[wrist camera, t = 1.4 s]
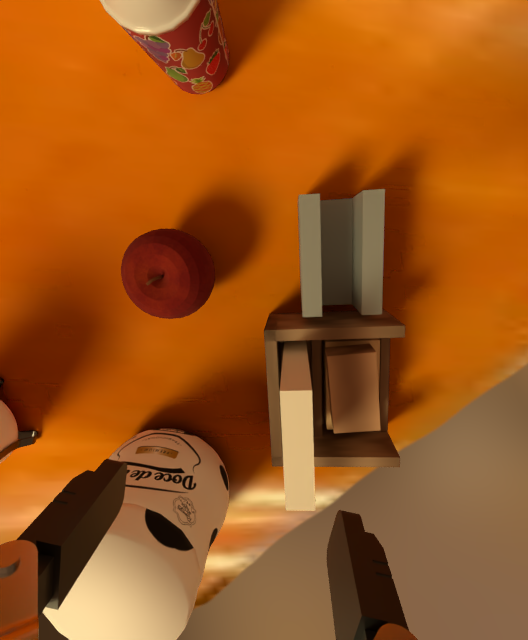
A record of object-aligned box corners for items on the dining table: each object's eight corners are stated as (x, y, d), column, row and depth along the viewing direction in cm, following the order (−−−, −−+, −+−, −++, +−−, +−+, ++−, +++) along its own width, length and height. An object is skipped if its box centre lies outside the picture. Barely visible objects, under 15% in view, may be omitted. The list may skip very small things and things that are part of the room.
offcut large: (372, 331, 40) (380, 340, 37) (371, 414, 43) (378, 429, 39) (322, 333, 41) (325, 341, 38) (324, 414, 43) (326, 429, 40)
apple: (181, 213, 40) (145, 204, 30) (240, 267, 41) (224, 276, 31) (135, 271, 42) (88, 281, 33) (192, 322, 43) (163, 345, 33)
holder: (368, 198, 38) (384, 188, 31) (367, 302, 41) (381, 314, 34) (297, 203, 39) (298, 195, 32) (301, 304, 41) (302, 317, 35)
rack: (383, 309, 41) (405, 325, 33) (381, 427, 44) (399, 467, 36) (269, 313, 42) (264, 330, 34) (275, 427, 46) (272, 466, 38)
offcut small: (369, 343, 37) (376, 352, 34) (374, 416, 39) (380, 430, 36) (324, 347, 38) (327, 356, 35) (331, 419, 40) (334, 433, 37)
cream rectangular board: (305, 333, 41) (312, 390, 26) (307, 414, 44) (315, 510, 28) (284, 334, 41) (279, 390, 26) (288, 414, 44) (285, 510, 28)
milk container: (189, 396, 46) (125, 493, 28) (257, 492, 48) (236, 634, 31) (95, 450, 49) (-14, 566, 32) (163, 536, 52) (97, 687, 34)
